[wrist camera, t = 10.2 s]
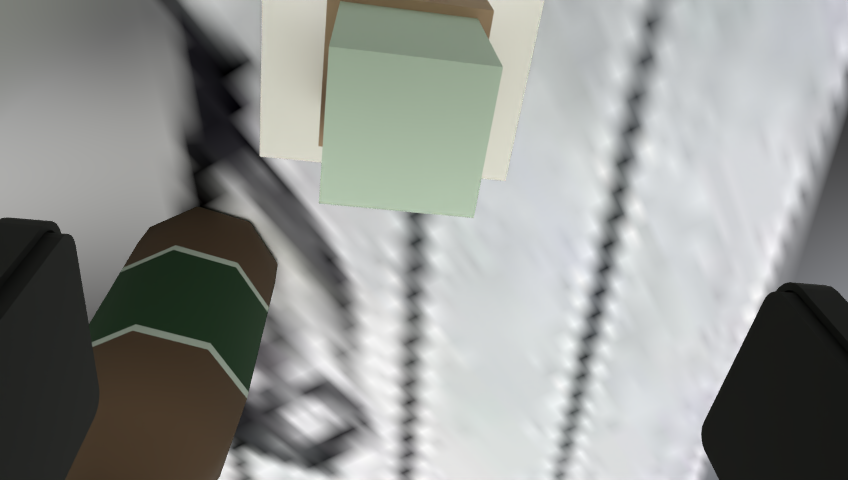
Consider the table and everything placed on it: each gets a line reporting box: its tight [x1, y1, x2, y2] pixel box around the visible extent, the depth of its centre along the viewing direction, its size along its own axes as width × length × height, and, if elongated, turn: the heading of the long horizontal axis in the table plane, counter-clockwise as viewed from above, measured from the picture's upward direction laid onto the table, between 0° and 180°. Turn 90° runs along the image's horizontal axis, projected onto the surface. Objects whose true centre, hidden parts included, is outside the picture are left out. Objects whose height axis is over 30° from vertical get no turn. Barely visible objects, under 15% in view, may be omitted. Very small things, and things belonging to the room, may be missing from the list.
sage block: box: [319, 1, 503, 218], centre depth 23 cm, size 5×5×6 cm
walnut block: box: [318, 0, 494, 147], centre depth 28 cm, size 6×6×5 cm
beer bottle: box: [65, 207, 277, 480], centre depth 28 cm, size 8×8×24 cm
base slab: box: [260, 0, 544, 181], centre depth 31 cm, size 12×12×2 cm
